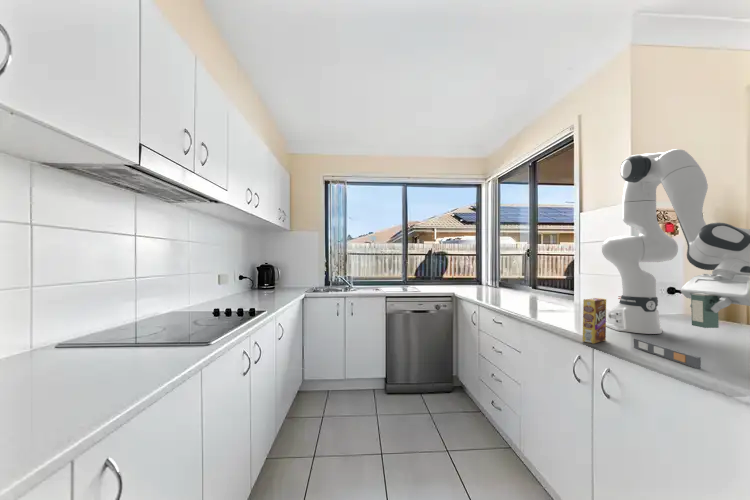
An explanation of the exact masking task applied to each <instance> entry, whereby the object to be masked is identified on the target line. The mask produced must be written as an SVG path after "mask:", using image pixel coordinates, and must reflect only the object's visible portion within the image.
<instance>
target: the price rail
mask: <svg viewBox="0 0 750 500" xmlns="http://www.w3.org/2000/svg"><path fill="white" fill-rule="evenodd" d="M633 348H635V349H637V350H641V351H643V352H647V353H650V354H652V353H653V354H652V355H656V356H658V357H662V358H664V359H667V360H670V361H673V362H676V363H679V364H682V365H686V366H688V367H692V368H693V369H702V365H701V362H702V361H701V360H702V358H701V357H700V356H697V355H693V354H690V353H687V352H684V351H680V350H678V349H677V350H676V349H673V348H671V347H667V346H663V345H661V344H657V343H654V342H650V341H647V340H644V339H640V338H638V337H637V338H633Z"/></svg>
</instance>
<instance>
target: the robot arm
mask: <svg viewBox="0 0 750 500" xmlns="http://www.w3.org/2000/svg"><path fill="white" fill-rule="evenodd" d="M619 173H620V176H621V178H622V179H623V181H624V182H625V183H624V187H623V193H622V194H623V195H622V221H623V223H624V224H626V225H627V226H629V227H631V228H635V229H636V231H637V233H638V235H618V236H613V237H609V238H607V239H606V240H604V241H603V243H602V246H601V253H602V256H603V257H604V258H605V259H606V260H607V261H608V262H610V263H611V264H613V266H615V267H616V268H617V270H618V272H619V274H620V277H621V287H622V295H620V296H618V298H617V299H618V300H619V302H618V303H619V304H617V305H616V306H614V307H613V308H612V309H610V310H609V311H608V313H607V319H606V328H610V329H612V330H614V331H617V332H618V331H619V332H628V333H635V334H647V335H648V334H649V335H652V334H653V335H654V334H655V335H656V334H657V335H658V334H662V333H663V332H662V331H664V330H663V327H661V319H660V312H659V310H658V306H659V304H658V303H659V300H658V299H659V298H658V297H657V280H656V277H655V276H654V275H653V274H652V273H650V272H648V271H645V270H644V269H641V267H640V264H639V263H663V262H669V261H673V259H674V258H675V257H676V256H677V254H678V252H679V246H678V243H677V241H676V240H675V239H674V238H673V237H671V236H669V235H668V234H667V233H666V232H665V231H664V230H663V229H662V227H661V226H660V223H659V221H658V217H657V188H658V186H660V184H661V185H662V187H663V189H664V191H665V193H666V196H667V197H668V199H669V201H670V203H671V206H672V209H673V210H674V213H675V215H676V218H677V220H678V223H679V226H680V228H681V231H682V233H683V236H684V238H685V242H686V244H687V250H686V258H687V261H688V262H689V263H690V264H691V265H692V266H693V267H695V268H697V269H700V270H705V271H712V273H711V274H710V273H709V274H708V273H702V274H701V275H694V276H693V277H691V278H690V279H689V280H688V281H687V282H685V284H683V286H681V288H680V293H681V294H682V295H683V296H684V297H686V298H687V299H690V300H691V295H693V293H705V294H715V295H716V296H718V302H717V303H715V304H711V305H710V306H709V307H708V310H710V312H714V313H718V314H719V312H720V310H723V309H725V308H727V307H730V306H731V305H732V304H733V305H739V306H748V307H750V229H749V228H742V227H736V226H734V225H731V224H729V223H725V222H711V223H708V224H706V221H705V219H704V214H703V207H704V203H705V199H706V197H707V191H708V188H709V187H708V186H709V185H708V180H707V176H706V175H705V173H704V171H703V169H702V168H701V166H700V165H699V163H698V162H697V161H696V160H695V158H694V157H693V156H692V154H689V152H688V151H686V150H683V149H679V148H675V149H674V148H673V149H670V150H668V151H665V152H653V153H642V154H639V153H638V154H632V155H629V156H627V157H625V159H623V161H622V162H621V164H620V169H619ZM689 308H691V304H690V305H689Z"/></svg>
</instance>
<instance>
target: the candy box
mask: <svg viewBox="0 0 750 500" xmlns="http://www.w3.org/2000/svg"><path fill="white" fill-rule="evenodd" d="M582 302H583V304H582V305H583V308H582V314H583V316H582V342H585V343H589V344H592V345H593V344H598V343H601V342H605V341H606V340H607V339H606V338H607V335H606V333H607V326H606V321H607V298H602V297H601V298H600V297H592V298H587V299H585V298H584V299H583V301H582Z"/></svg>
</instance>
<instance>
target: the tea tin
mask: <svg viewBox="0 0 750 500" xmlns="http://www.w3.org/2000/svg"><path fill="white" fill-rule="evenodd" d="M690 302H691V303H690V305H691V307H690V309H691V326H693V327H694V326H695V327H697V328H698V327H699V328H704V329H709V328H710V329H719V328H720V327H719V312H718V313H714V312H710V310H708V307H709V306H710V305H711V304H715V303H717V302H718V296H716V295H715V294H705V293H693V295H691V299H690Z"/></svg>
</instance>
